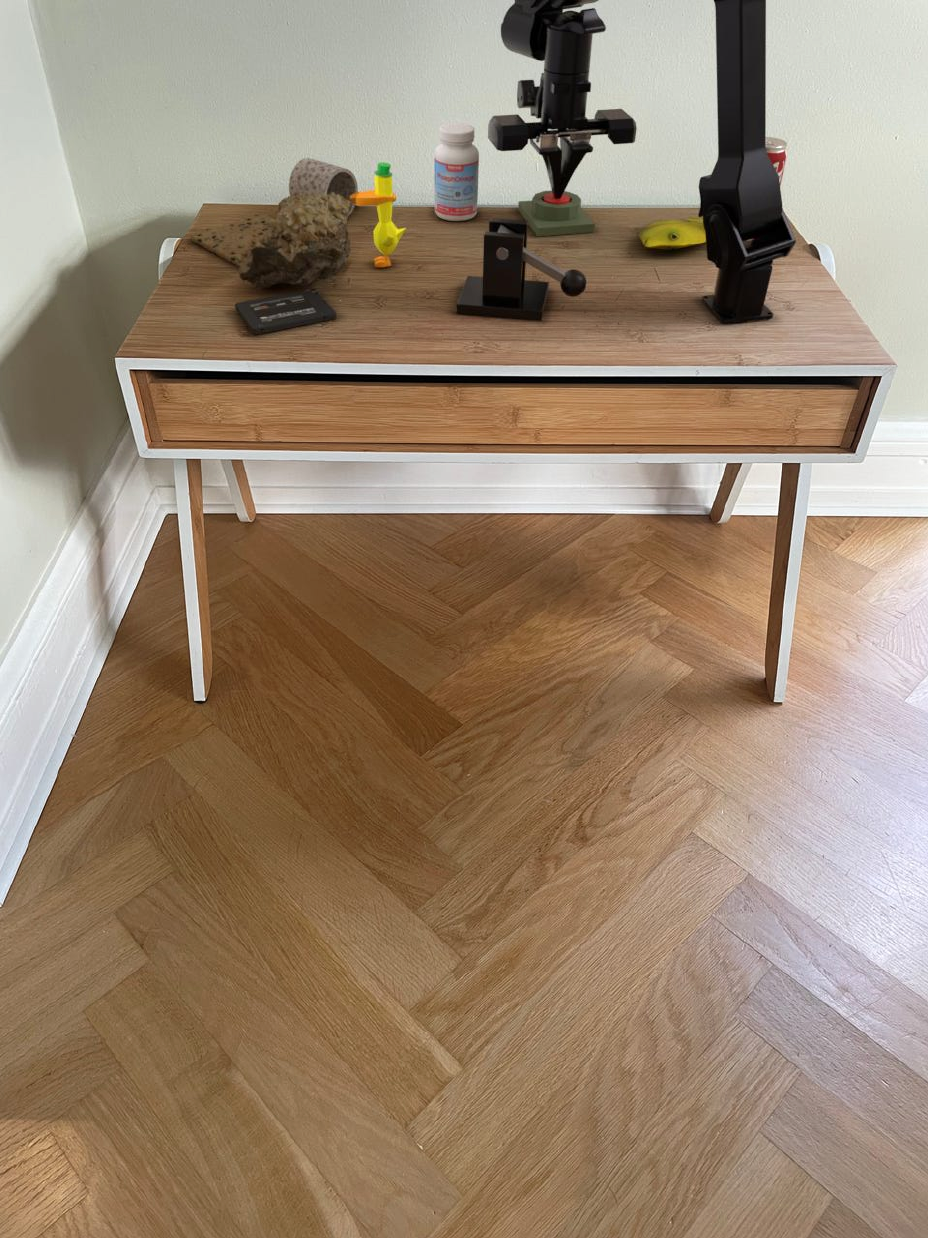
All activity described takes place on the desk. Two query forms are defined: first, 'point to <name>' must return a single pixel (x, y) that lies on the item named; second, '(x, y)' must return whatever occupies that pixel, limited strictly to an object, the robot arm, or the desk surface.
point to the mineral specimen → (299, 242)
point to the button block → (555, 216)
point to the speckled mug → (322, 180)
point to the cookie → (233, 236)
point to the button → (551, 200)
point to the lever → (554, 271)
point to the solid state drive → (284, 311)
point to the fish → (673, 234)
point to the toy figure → (381, 213)
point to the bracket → (504, 278)
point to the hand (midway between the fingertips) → (556, 197)
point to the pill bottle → (456, 173)
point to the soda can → (776, 157)
